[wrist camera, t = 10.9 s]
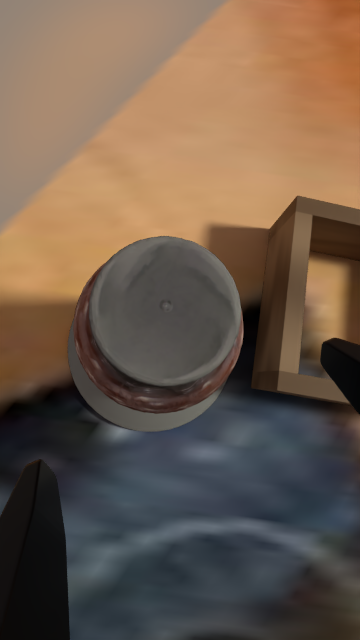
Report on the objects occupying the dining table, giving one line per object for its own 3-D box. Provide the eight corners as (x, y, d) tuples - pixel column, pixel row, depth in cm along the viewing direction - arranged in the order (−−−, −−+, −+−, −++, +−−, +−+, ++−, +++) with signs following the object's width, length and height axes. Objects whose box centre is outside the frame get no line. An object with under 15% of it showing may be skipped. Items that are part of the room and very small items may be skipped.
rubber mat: (219, 442, 19) (221, 444, 18) (51, 415, 18) (48, 416, 18) (241, 285, 21) (242, 283, 20) (90, 255, 20) (88, 252, 20)
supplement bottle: (87, 378, 18) (-3, 379, 7) (124, 286, 19) (95, 166, 8) (184, 412, 18) (241, 462, 7) (214, 319, 20) (301, 242, 9)
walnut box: (413, 416, 20) (477, 425, 16) (250, 388, 20) (277, 390, 16) (416, 259, 23) (473, 234, 19) (270, 228, 22) (297, 195, 18)
